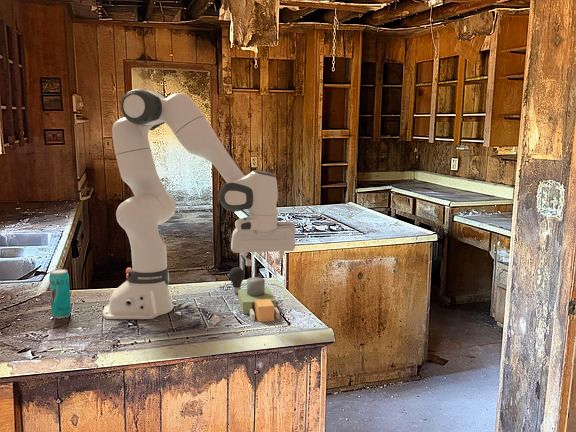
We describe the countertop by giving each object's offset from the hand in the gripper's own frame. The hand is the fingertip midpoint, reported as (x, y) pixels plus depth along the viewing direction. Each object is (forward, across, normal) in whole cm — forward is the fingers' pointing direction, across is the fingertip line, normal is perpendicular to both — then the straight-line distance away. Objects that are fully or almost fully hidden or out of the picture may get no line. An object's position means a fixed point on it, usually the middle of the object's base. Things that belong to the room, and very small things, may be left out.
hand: (263, 265), depth 170 cm
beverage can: (+18, +64, -12) cm, 67 cm away
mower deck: (+17, +1, -7) cm, 19 cm away
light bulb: (+18, +6, -26) cm, 31 cm away
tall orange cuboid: (+17, 0, +1) cm, 17 cm away
